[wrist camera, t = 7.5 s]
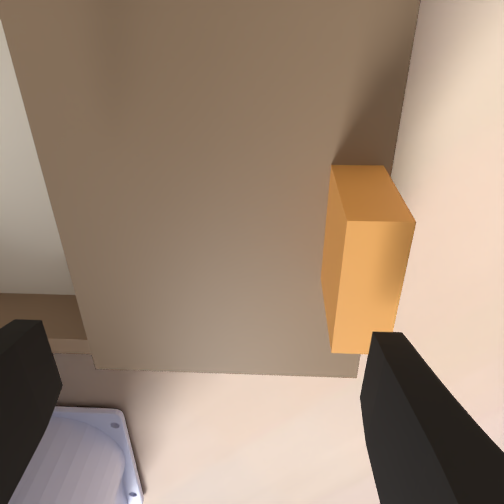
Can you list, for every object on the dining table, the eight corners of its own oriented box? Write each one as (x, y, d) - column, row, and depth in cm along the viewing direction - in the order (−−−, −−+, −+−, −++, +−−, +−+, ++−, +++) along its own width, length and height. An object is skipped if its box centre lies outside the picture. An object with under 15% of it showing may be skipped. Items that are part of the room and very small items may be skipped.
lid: (354, 368, 18) (373, 461, 14) (99, 360, 18) (58, 447, 15) (419, -29, 11) (486, -33, 7) (-1, -25, 11) (-124, -28, 8)
